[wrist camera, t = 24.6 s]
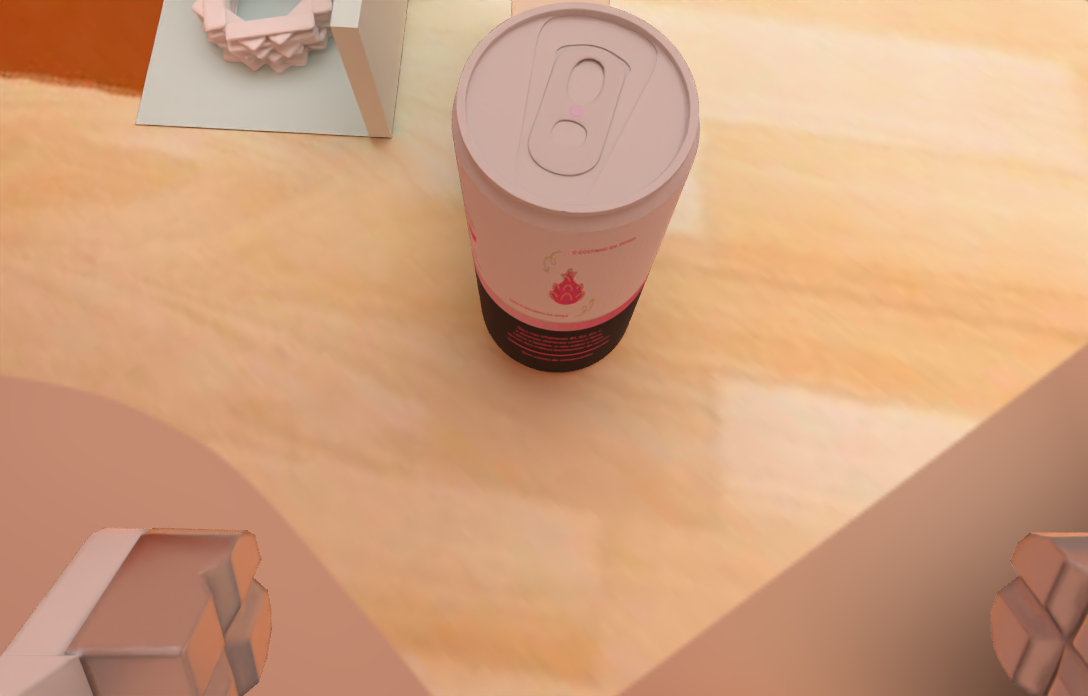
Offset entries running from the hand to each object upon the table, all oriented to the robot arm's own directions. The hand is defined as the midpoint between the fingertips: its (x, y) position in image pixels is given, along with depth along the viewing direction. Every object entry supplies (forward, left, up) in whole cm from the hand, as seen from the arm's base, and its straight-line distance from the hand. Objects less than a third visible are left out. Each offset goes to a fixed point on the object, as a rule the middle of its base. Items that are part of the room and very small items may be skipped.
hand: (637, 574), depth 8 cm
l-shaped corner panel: (-13, +26, -24) cm, 38 cm away
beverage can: (0, +12, -24) cm, 26 cm away
